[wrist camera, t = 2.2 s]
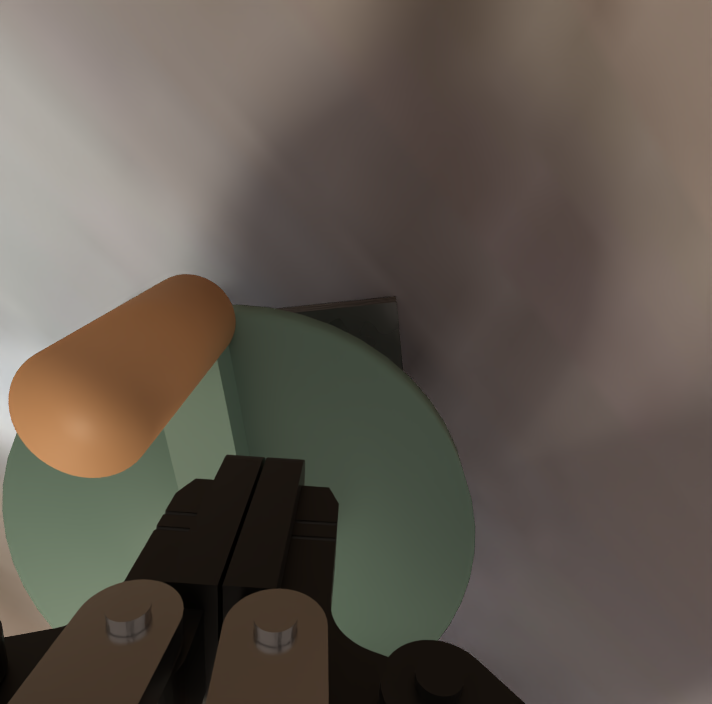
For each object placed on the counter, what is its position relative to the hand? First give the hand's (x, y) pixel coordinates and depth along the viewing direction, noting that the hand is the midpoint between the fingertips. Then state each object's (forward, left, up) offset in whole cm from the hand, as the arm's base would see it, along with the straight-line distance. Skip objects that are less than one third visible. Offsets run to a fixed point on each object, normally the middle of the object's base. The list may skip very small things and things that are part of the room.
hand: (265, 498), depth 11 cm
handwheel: (+4, +7, -10) cm, 13 cm away
